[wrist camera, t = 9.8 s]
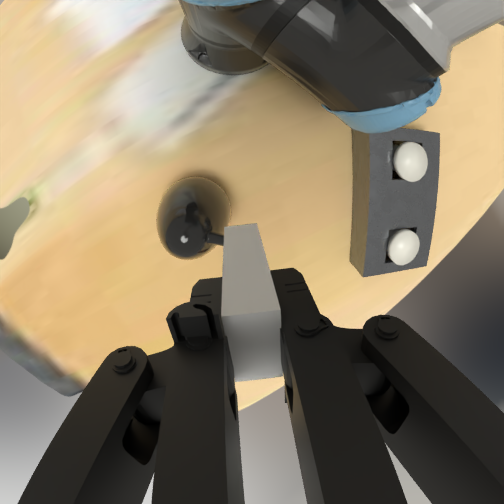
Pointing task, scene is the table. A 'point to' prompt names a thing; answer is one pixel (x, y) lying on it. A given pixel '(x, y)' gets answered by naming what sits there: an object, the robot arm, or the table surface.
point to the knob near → (409, 161)
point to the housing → (390, 199)
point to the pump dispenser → (193, 217)
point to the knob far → (402, 246)
